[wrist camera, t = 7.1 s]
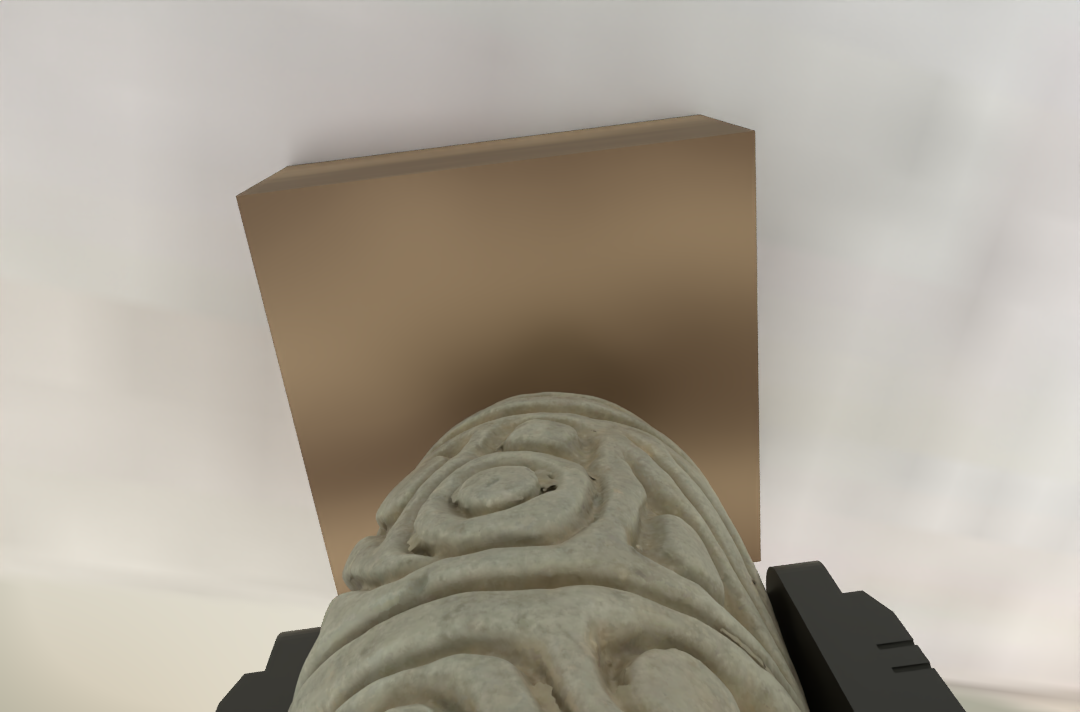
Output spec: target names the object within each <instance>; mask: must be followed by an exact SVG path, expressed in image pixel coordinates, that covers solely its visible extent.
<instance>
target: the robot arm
mask: <svg viewBox="0 0 1080 712" xmlns="http://www.w3.org/2000/svg"><path fill="white" fill-rule="evenodd" d="M766 592H767V595H768V597H769V600H770V602H771V605H772V608H773V611H774V614H775V617H776V620H777V622H778V625H779V628H780V631H781V634H782V637H783V640H784V642H785V645H786V648H787V650H788V653H789V656H790V659H791V661H792V663H793V665H794V668H795V670H796V672H797V675H798V677H799V680H800V683H801V685H802V688H803V691H804V694H805V697H806V701H807V704H808V707H809V710H810V712H966V711H965V710H964V709H963V707H962V706H961V705H960V703H959V702H958V700H957V699H956V698H955V696H954V695H953V693H952V692H951V691H950V689H949V688H948V687H947V685H946V684H945V682H944V681H943V680H942V678H941V677H940V676H939V674H938V673H937V671H936V670H935V669H934V668H931V666H930V662H929V660H928V659H927V658H926V656H925V655H924V654H923V652H922V651H921V649H920V648H919V647H918V645H915V644H914V642H913V638H912V637H911V636H910V634H909V633H908V631H907V630H906V629H905V627H904V626H903V625H902V623H901V622H900V620H899V619H898V618H897V616H896V615H895V614H894V612H893V611H891V610H890V609H888V608H887V607H885V606H884V605H882V604H881V603H880V602H878V601H877V600H875V599H874V598H872V597H871V596H870V595H868V594H867V593H865V592H864V591H856V592H848V593H842V592H841V591H840V589H839V588H838V586H837V585H836V583H835V582H834V580H833V579H832V577H831V575H830V574H829V572H828V571H827V569H826V568H825V566H824V565H823V564H822V563H821V562H819V561H811V562H803V563H796V564H789V565H781V566H774V567H769V568H768V570H767V575H766ZM320 629H321V627H317V628H309V629H302V630H295V631H288V632H282V633H280V634H279V635H278V637H277V639H276V641H275V644H274V647H273V650H272V652H271V655H270V658H269V661H268V663H267V666H266V669H265V671H262V672H254V673H248V674H244V675H243V676H242V677H241V679H240V680H239V681H238V682H237V683H236V684H235V686H234V687H233V688H232V689H231V690H230V691H229V693H228V694H227V695H226V696H225V697H224V698H223V699H222V701H221V702H220V703H219V705H218V707H217V710H216V712H288V710H289V708H290V705H291V704H292V702H293V697H294V693H295V689H296V685H297V681H298V678H299V675H300V672H301V670H302V667H303V665H304V663H305V661H306V659H307V657H308V655H309V653H310V651H311V649H312V648H313V646H314V644H315V642H316V640H317V638H318V636H319V634H320Z"/></svg>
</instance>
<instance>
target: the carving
mask: <svg viewBox="0 0 1080 712" xmlns="http://www.w3.org/2000/svg"><path fill="white" fill-rule="evenodd" d="M376 521H377V523H378V525H379V526H380V527H379V530H378V532H377V535H376V536H367V537H365V538H363V539H361V540H360V541H359V542H358V543H357V544H356V545H355V547H354V548H353V550H352V552H351V553H350V555H349V557H348V559H347V561H346V564H345V566H344V569H343V572H342V578H343V581H344V582H345V584H346V586H347V587H348V588H349V589H350V590H351V591H350V592H347V593H343V594H340V595H338V596H336V597H335V598H334V599H333V600H332V601H331V603H330V605H329V607H328V609H327V611H326V613H325V616H324V619H323V622H322V625H321V629H320V634H319V636H318V638H317V640H316V642H315V644H314V646H313V648H312V649H311V651H310V653H309V655H308V657H307V659H306V661H305V663H304V665H303V667H302V670H301V672H300V675H299V678H298V681H297V685H296V689H295V693H294V697H293V702H292V704H291V705H290V708H289V710H288V712H810V710H809V707H808V704H807V701H806V697H805V694H804V691H803V688H802V685H801V683H800V680H799V677H798V675H797V672H796V670H795V668H794V665H793V663H792V661H791V659H790V656H789V653H788V650H787V648H786V645H785V642H784V640H783V637H782V634H781V631H780V628H779V625H778V622H777V620H776V617H775V614H774V611H773V608H772V605H771V602H770V600H769V597H768V595H767V592H766V590H765V588H764V585H763V583H762V581H761V579H760V576H759V574H758V572H757V570H756V568H755V565H754V563H753V561H752V559H751V557H750V556H749V554H748V552H747V549H746V547H745V545H744V543H743V541H742V539H741V537H740V535H739V533H738V532H737V530H736V528H735V526H734V524H733V523H732V521H731V519H730V518H729V516H728V515H727V513H726V511H725V509H724V507H723V505H722V504H721V502H720V500H719V498H718V496H717V495H716V493H715V492H714V490H713V489H712V487H711V485H710V484H709V482H708V480H707V479H706V477H705V476H704V475H703V473H702V472H701V471H700V469H699V468H698V467H697V466H696V464H695V463H694V462H693V461H692V460H691V458H690V457H689V456H688V455H687V454H686V453H685V452H684V451H683V450H682V449H681V448H680V447H679V446H678V445H676V444H675V443H674V442H673V441H672V440H671V439H669V438H668V437H667V436H665V435H664V434H662V433H661V432H659V431H657V430H656V429H655V428H653V427H652V426H650V425H649V424H648V423H646V422H645V421H644V420H642V419H641V418H639V417H638V416H636V415H635V414H633V413H631V412H630V411H628V410H626V409H624V408H622V407H620V406H619V405H617V404H614V403H612V402H610V401H607V400H604V399H601V398H598V397H594V396H589V395H582V394H574V393H564V392H540V393H534V394H522V395H517V396H513V397H510V398H507V399H504V400H502V401H499V402H497V403H495V404H493V405H492V406H489V407H487V408H485V409H483V410H480V411H479V412H477V413H475V414H473V415H472V416H470V417H468V418H466V419H464V420H463V421H461V422H460V423H458V424H457V425H455V426H454V427H453V428H451V429H450V430H449V431H448V432H447V433H446V434H445V435H444V436H442V437H441V438H440V439H439V440H438V441H437V442H436V443H435V444H434V445H433V446H432V448H431V449H430V450H429V451H428V452H427V454H426V455H425V456H424V458H423V459H422V460H421V461H420V463H419V464H418V465H417V467H416V468H415V470H413V471H412V472H411V473H410V474H408V475H407V476H406V477H405V478H404V479H403V480H402V481H401V482H400V483H399V484H398V485H397V486H396V487H395V488H394V489H393V490H392V491H391V492H390V493H389V494H388V496H387V497H386V498H385V500H384V501H383V502H382V504H381V505H380V507H379V509H378V511H377V513H376Z"/></svg>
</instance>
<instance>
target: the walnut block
mask: <svg viewBox="0 0 1080 712" xmlns="http://www.w3.org/2000/svg"><path fill="white" fill-rule="evenodd" d="M236 198H237V202H238V206H239V210H240V214H241V218H242V222H243V226H244V230H245V234H246V237H247V241H248V245H249V249H250V253H251V257H252V261H253V265H254V269H255V273H256V277H257V280H258V284H259V288H260V292H261V296H262V300H263V304H264V308H265V312H266V316H267V320H268V323H269V327H270V331H271V335H272V339H273V343H274V347H275V351H276V355H277V359H278V363H279V366H280V370H281V374H282V378H283V382H284V386H285V390H286V394H287V398H288V402H289V406H290V410H291V413H292V417H293V421H294V425H295V429H296V433H297V437H298V441H299V445H300V449H301V453H302V456H303V460H304V464H305V468H306V472H307V476H308V480H309V484H310V488H311V492H312V496H313V499H314V503H315V507H316V511H317V515H318V519H319V523H320V527H321V531H322V535H323V539H324V542H325V546H326V550H327V554H328V558H329V562H330V566H331V570H332V574H333V578H334V582H335V585H336V589H337V593H338V595H340V594H343V593H347V592H350V591H351V590H350V589H349V588H348V587H347V586H346V584H345V582H344V581H343V578H342V572H343V569H344V566H345V564H346V561H347V559H348V557H349V555H350V553H351V552H352V550H353V548H354V547H355V545H356V544H357V543H358V542H359V541H360V540H361V539H363V538H365V537H367V536H376V535H377V532H378V530H379V527H380V526H379V525H378V523H377V521H376V513H377V511H378V509H379V507H380V505H381V504H382V502H383V501H384V500H385V498H386V497H387V496H388V494H389V493H390V492H391V491H392V490H393V489H394V488H395V487H396V486H397V485H398V484H399V483H400V482H401V481H402V480H403V479H404V478H405V477H406V476H407V475H408V474H410V473H411V472H412V471H413V470H415V468H416V467H417V465H418V464H419V463H420V461H421V460H422V459H423V458H424V456H425V455H426V454H427V452H428V451H429V450H430V449H431V448H432V446H433V445H434V444H435V443H436V442H437V441H438V440H439V439H440V438H441V437H442V436H444V435H445V434H446V433H447V432H448V431H449V430H450V429H451V428H453V427H454V426H455V425H457V424H458V423H460V422H461V421H463V420H464V419H466V418H468V417H470V416H472V415H473V414H475V413H477V412H479V411H480V410H483V409H485V408H487V407H489V406H492V405H493V404H495V403H497V402H499V401H502V400H504V399H507V398H510V397H513V396H517V395H522V394H534V393H540V392H564V393H574V394H582V395H589V396H594V397H598V398H601V399H604V400H607V401H610V402H612V403H614V404H617V405H619V406H620V407H622V408H624V409H626V410H628V411H630V412H631V413H633V414H635V415H636V416H638V417H639V418H641V419H642V420H644V421H645V422H646V423H648V424H649V425H650V426H652V427H653V428H655V429H656V430H657V431H659V432H661V433H662V434H664V435H665V436H667V437H668V438H669V439H671V440H672V441H673V442H674V443H675V444H676V445H678V446H679V447H680V448H681V449H682V450H683V451H684V452H685V453H686V454H687V455H688V456H689V457H690V458H691V460H692V461H693V462H694V463H695V464H696V466H697V467H698V468H699V469H700V471H701V472H702V473H703V475H704V476H705V477H706V479H707V480H708V482H709V484H710V485H711V487H712V489H713V490H714V492H715V493H716V495H717V496H718V498H719V500H720V502H721V504H722V505H723V507H724V509H725V511H726V513H727V515H728V516H729V518H730V519H731V521H732V523H733V524H734V526H735V528H736V530H737V532H738V533H739V535H740V537H741V539H742V541H743V543H744V545H745V547H746V549H747V552H748V554H749V556H750V557H751V559H752V561H753V562H759V561H761V549H760V473H759V396H758V320H757V244H756V167H755V131H754V130H750V129H747V128H744V127H740V126H737V125H733V124H730V123H727V122H723V121H720V120H716V119H713V118H709V117H706V116H703V115H693V116H685V117H677V118H669V119H661V120H653V121H646V122H638V123H630V124H622V125H614V126H606V127H598V128H590V129H582V130H574V131H566V132H558V133H550V134H542V135H534V136H526V137H518V138H510V139H502V140H494V141H486V142H478V143H470V144H462V145H454V146H446V147H438V148H430V149H422V150H414V151H406V152H398V153H390V154H382V155H374V156H366V157H358V158H350V159H342V160H334V161H326V162H318V163H310V164H302V165H294V166H287V167H285V168H284V169H282V170H280V171H278V172H277V173H275V174H273V175H272V176H270V177H268V178H266V179H265V180H263V181H261V182H259V183H258V184H256V185H254V186H253V187H251V188H249V189H247V190H246V191H244V192H242V193H241V194H239V195H237V196H236Z"/></svg>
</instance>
